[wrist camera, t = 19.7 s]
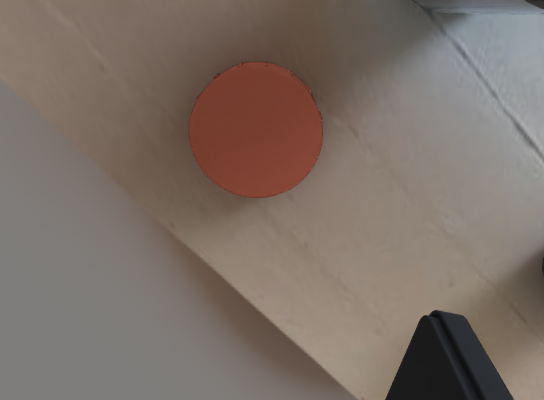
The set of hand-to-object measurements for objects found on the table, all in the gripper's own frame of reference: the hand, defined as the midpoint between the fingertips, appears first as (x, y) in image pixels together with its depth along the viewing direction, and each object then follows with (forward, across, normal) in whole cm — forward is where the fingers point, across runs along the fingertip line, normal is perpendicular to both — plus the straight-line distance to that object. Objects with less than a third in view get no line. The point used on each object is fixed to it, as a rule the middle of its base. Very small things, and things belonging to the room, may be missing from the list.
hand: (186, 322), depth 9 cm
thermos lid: (+18, -1, +1) cm, 18 cm away
